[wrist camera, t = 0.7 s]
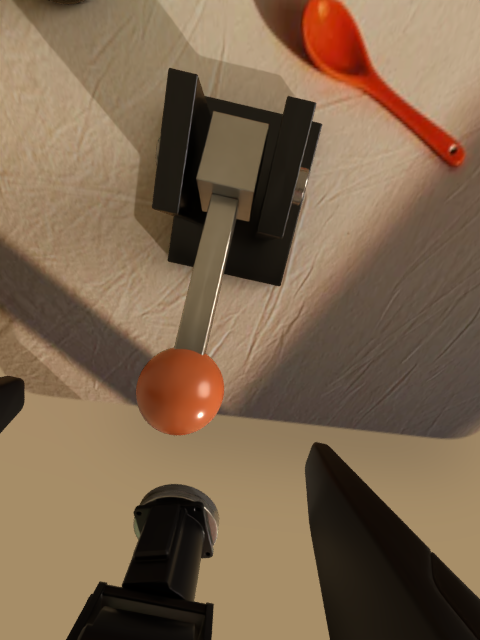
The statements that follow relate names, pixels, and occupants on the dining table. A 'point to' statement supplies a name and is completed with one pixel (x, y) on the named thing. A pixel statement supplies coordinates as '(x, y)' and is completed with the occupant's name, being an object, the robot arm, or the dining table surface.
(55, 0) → the supplement bottle
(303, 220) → the dining table surface
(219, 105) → the bracket
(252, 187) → the lever
